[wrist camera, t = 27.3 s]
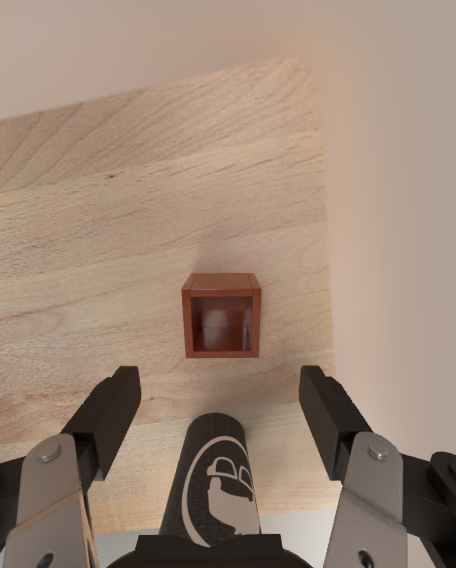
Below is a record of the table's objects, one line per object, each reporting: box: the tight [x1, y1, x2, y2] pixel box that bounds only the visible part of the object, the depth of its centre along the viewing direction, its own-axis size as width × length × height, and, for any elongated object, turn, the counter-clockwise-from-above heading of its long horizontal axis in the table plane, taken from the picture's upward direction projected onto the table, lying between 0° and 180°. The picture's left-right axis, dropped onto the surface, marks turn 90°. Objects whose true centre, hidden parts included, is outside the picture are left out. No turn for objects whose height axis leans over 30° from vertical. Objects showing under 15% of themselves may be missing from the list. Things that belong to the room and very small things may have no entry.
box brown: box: [181, 273, 261, 358], centre depth 19 cm, size 6×6×4 cm
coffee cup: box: [158, 413, 262, 547], centre depth 18 cm, size 10×10×15 cm
